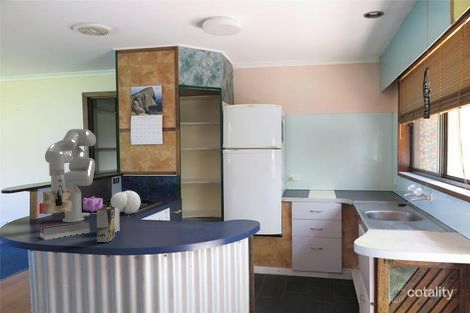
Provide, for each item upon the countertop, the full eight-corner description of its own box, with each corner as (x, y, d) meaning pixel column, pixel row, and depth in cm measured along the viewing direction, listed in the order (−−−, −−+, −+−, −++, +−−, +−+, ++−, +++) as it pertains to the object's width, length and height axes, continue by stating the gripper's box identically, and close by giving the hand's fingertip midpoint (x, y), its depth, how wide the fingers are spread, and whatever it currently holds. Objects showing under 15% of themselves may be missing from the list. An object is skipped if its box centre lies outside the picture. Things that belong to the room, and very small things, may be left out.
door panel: (70, 209, 195) (70, 189, 194) (72, 210, 192) (71, 189, 192) (43, 213, 185) (43, 191, 185) (45, 214, 183) (44, 192, 182)
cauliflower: (134, 210, 247) (133, 188, 247) (145, 214, 234) (145, 190, 234) (107, 214, 234) (106, 191, 233) (117, 218, 221) (117, 193, 220)
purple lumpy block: (79, 213, 238) (79, 198, 238) (83, 210, 251) (83, 195, 251) (102, 212, 241) (102, 197, 241) (105, 209, 255) (105, 195, 254)
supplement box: (120, 231, 184) (119, 208, 184) (110, 234, 177) (110, 210, 177) (109, 230, 187) (108, 207, 187) (99, 233, 180) (99, 210, 180)
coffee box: (110, 242, 161) (109, 209, 161) (96, 243, 161) (96, 209, 160) (115, 237, 170) (115, 206, 170) (102, 238, 170) (102, 206, 170)
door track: (84, 229, 189) (84, 220, 189) (89, 232, 182) (89, 223, 182) (40, 236, 174) (40, 227, 174) (44, 240, 167) (44, 230, 167)
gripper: (68, 173, 184) (69, 206, 185) (59, 171, 196) (60, 202, 197) (53, 174, 179) (54, 208, 180) (45, 172, 191) (46, 204, 192)
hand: (58, 205), depth 189 cm, fingers closed on door panel, 3 cm apart
